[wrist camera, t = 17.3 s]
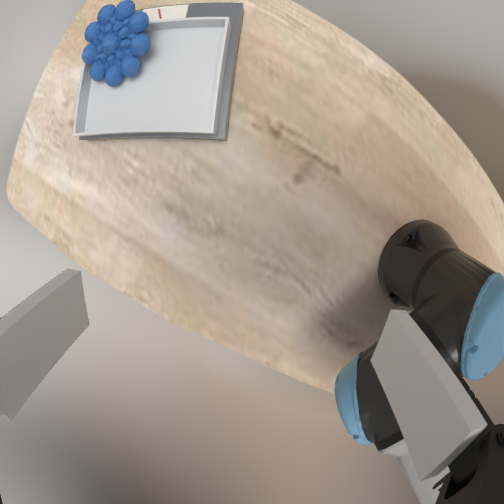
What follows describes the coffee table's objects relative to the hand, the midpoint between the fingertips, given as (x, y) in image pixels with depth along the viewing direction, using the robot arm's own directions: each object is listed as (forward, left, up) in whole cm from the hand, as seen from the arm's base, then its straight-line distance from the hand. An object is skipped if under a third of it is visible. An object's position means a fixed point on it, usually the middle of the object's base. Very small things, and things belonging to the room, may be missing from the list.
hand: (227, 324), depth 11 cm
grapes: (+16, -17, -25) cm, 34 cm away
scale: (+15, -19, -30) cm, 38 cm away
